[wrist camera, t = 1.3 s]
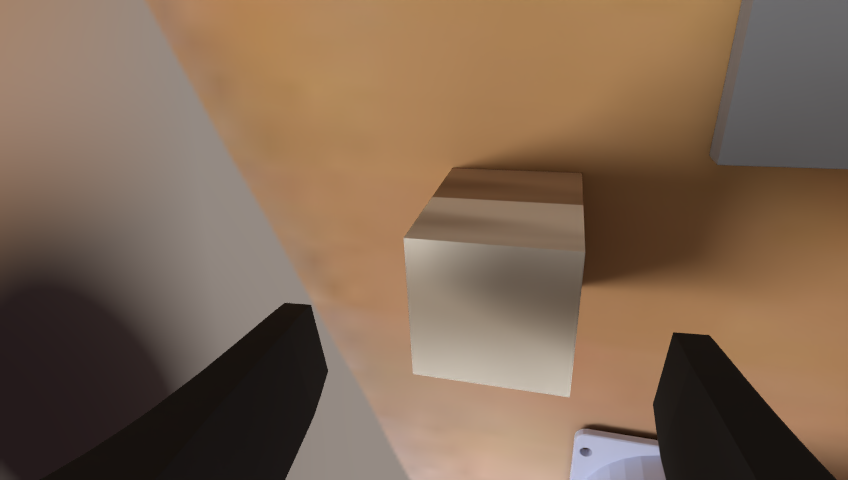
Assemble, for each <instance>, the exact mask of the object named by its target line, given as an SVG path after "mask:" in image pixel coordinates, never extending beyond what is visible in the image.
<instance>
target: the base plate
mask: <svg viewBox="0 0 848 480" xmlns="http://www.w3.org/2000/svg"><path fill="white" fill-rule="evenodd" d="M709 156H710V157H711V158H712V159H713V160H714V162H715V163H716V164H717V165H734V166H765V167H796V168H826V169H848V0H742V2H741V7H740V12H739V17H738V21H737V26H736V31H735V36H734V40H733V45H732V50H731V55H730V59H729V64H728V69H727V73H726V78H725V83H724V88H723V92H722V97H721V102H720V107H719V111H718V116H717V121H716V126H715V130H714V135H713V140H712V145H711V149H710V154H709Z"/></svg>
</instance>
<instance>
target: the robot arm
mask: <svg viewBox="0 0 848 480" xmlns="http://www.w3.org/2000/svg"><path fill="white" fill-rule="evenodd" d="M327 373H328V369H327V365H326V361H325V357H324V353H323V350H322V346H321V342H320V338H319V334H318V330H317V327H316V323H315V319H314V315H313V311H312V307H311V305H305V304H291V303H284V304H283V305H282V306H280V307H279V308H278V309H276V310H275V311H274V312H273V313H272V314H270V315H269V316H268V317H267V318H265V319H264V320H263V321H262V322H261V323H259V324H258V325H257V326H256V327H255V328H254V329H253V330H251V331H250V332H249V333H248V334H247V335H245V336H244V337H243V338H242V339H241V340H239V341H238V342H237V343H236V344H234V345H233V346H232V347H231V348H230V349H228V350H227V351H226V352H225V353H223V354H222V355H221V356H220V357H219V358H217V359H216V360H215V361H214V362H213V363H211V364H210V365H209V366H208V367H207V368H205V369H204V370H203V371H201V372H200V373H199V374H198V375H196V376H195V377H194V378H192V379H191V380H190V381H188V382H187V383H186V384H184V385H183V386H182V387H180V388H179V389H178V390H177V391H175V392H174V393H172V394H171V395H170V396H168V397H167V398H166V399H165V400H163V401H162V402H161V403H159V404H158V405H157V406H155V407H154V408H152V409H151V410H150V411H148V412H147V413H145V414H144V415H143V416H141V417H140V418H138V419H137V420H135V421H134V422H132V423H131V424H130V425H128V426H127V427H125V428H124V429H122V430H121V431H119V432H118V433H116V434H114V435H113V436H111V437H110V438H108V439H107V440H105V441H104V442H102V443H101V444H99V445H98V446H96V447H94V448H93V449H91V450H90V451H88V452H86V453H85V454H83V455H81V456H80V457H78V458H76V459H75V460H73V461H71V462H69V463H68V464H66V465H64V466H63V467H61V468H59V469H58V470H56V471H54V472H52V473H51V474H49V475H48V476H46V477H44V478H42V479H41V480H285V478H286V477H287V474H288V472H289V470H290V468H291V466H292V464H293V461H294V459H295V457H296V455H297V453H298V450H299V448H300V446H301V444H302V442H303V439H304V437H305V435H306V432H307V430H308V428H309V426H310V424H311V421H312V419H313V417H314V414H315V411H316V408H317V405H318V402H319V399H320V396H321V393H322V389H323V386H324V383H325V379H326V376H327ZM653 408H654V415H655V423H656V431H657V438H658V440H653V439H647V438H641V437H635V436H628V435H622V434H616V433H610V432H604V431H598V430H592V429H581V430H578V431H577V432H576V434H575V437H574V446H573V454H572V462H571V471H570V479H569V480H836V478H835V477H834V476H833V475H832V474H831V473H830V472H829V471H828V470H827V469H826V468H825V467H824V466H823V465H822V464H821V463H820V462H819V461H818V460H817V459H816V457H815V456H814V455H813V454H812V453H811V452H810V451H809V450H808V449H807V448H806V447H805V446H804V444H803V443H802V442H801V441H800V440H799V439H798V438H797V437H796V436H795V434H794V433H793V432H792V431H791V430H790V429H789V428H788V427H787V426H786V424H785V423H784V422H783V421H782V420H781V419H780V418H779V417H778V416H777V414H776V413H775V412H774V411H773V410H772V409H771V408H770V406H769V405H768V404H767V403H766V402H765V401H764V399H763V398H762V397H761V396H760V395H759V394H758V392H757V391H756V390H755V389H754V388H753V387H752V385H751V384H750V383H749V382H748V381H747V379H746V378H745V377H744V376H743V375H742V373H741V372H740V371H739V370H738V369H737V367H736V366H735V365H734V364H733V363H732V361H731V360H730V359H729V358H728V357H727V355H726V354H725V353H724V352H723V351H722V349H721V348H720V347H719V346H718V345H717V343H716V342H715V341H714V340H713V339H712V338H711V337H710V336H709V335H700V334H687V333H673V335H672V339H671V342H670V346H669V350H668V353H667V357H666V360H665V364H664V367H663V371H662V374H661V378H660V382H659V385H658V389H657V392H656V396H655V399H654V403H653ZM583 448H589V449H583Z"/></svg>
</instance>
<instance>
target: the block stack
mask: <svg viewBox="0 0 848 480" xmlns="http://www.w3.org/2000/svg"><path fill="white" fill-rule="evenodd" d="M404 251H405V265H406V279H407V294H408V308H409V323H410V337H411V352H412V366H413V374H417V375H424V376H431V377H437V378H444V379H451V380H457V381H464V382H471V383H477V384H484V385H491V386H497V387H504V388H511V389H517V390H524V391H531V392H537V393H544V394H551V395H557V396H564V397H570V389H571V380H572V371H573V361H574V352H575V343H576V334H577V325H578V315H579V306H580V297H581V288H582V279H583V269H584V260H585V232H584V209H583V186H582V173H570V172H544V171H518V170H492V169H466V168H452V169H451V171H450V172H449V174H448V175H447V176H446V178H445V179H444V181H443V182H442V184H441V185H440V187H439V188H438V189H437V191H436V192H435V194H434V195H433V197H432V198H431V199H430V201H429V202H428V204H427V205H426V207H425V208H424V209H423V211H422V212H421V214H420V215H419V217H418V218H417V219H416V221H415V222H414V224H413V225H412V227H411V228H410V230H409V231H408V232H407V234H406V235H405V237H404Z"/></svg>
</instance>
